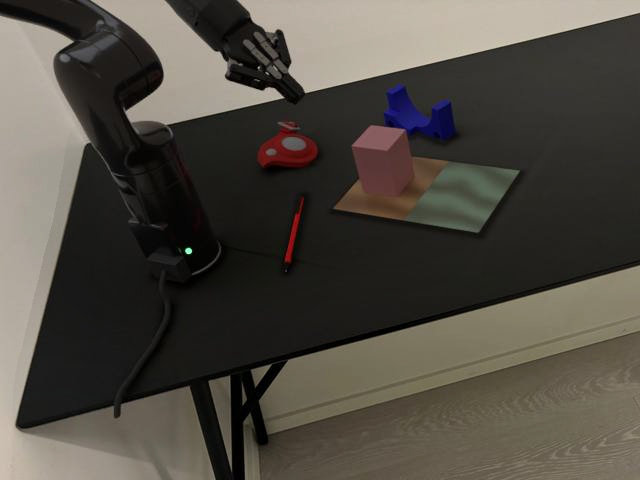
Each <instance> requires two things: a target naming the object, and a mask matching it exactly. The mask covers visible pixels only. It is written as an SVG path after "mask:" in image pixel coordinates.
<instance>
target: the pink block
mask: <svg viewBox="0 0 640 480" xmlns="http://www.w3.org/2000/svg"><path fill="white" fill-rule="evenodd" d="M351 150H352V153H353V157H354V161H355V166H356V169H357V174H358V177H359V178H360V181H361V185H362V189H363V192H366V193H373V194H379V195H386V196H392V197H398V196H399V195H400V194H401V192H402V191H403V190H404V189H405V187H406V186H407V185H408V184H409V182H410V181H411V180H412V179H413V177H414V176H415V173H414V168H413V163H412V158H411V156H412V154H411V148H410V143H409V137H408V134H407V133H406V129H398V128H394V127H391V126H390V127H388V126H380V125H372V124H371V125H369V126H368V127H367V128H366V130H364V132H363V133H362V134H361V135H360V136H359V137H358V138H357V140H356V141H355V142H354V143H353V144H352V145H351ZM359 178H358V179H359Z"/></svg>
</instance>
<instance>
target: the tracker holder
mask: <svg viewBox="0 0 640 480" xmlns="http://www.w3.org/2000/svg"><path fill="white" fill-rule="evenodd" d="M277 125H279V126H280V127H279V130H280V131H279V132H278V134H277V135H275V136H274V137H272V138H270V139H269V140H267V141H266V142H265V143H263V144H262V145H261V146H260V148H259V150H258V153H257V162H258V163H259V165H260V166H261V167H262V168H263V169H264V170H266V169H267V170H268V169H270V168H271V166H281V167H285V168H304V167H306V166H308V165H309V164H311V163H312V162H313V161H314V160H315V159H316V158H317V157H318V154H319V149H318V146H317V145H316V143H315V142H314V141H313V140H311V139H310V138H308V137H306V136H304V135H301V134H298V132H300V131H301V128H300V127H299V126H298V124H296V123H295V122H293V121H277Z"/></svg>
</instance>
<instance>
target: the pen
mask: <svg viewBox="0 0 640 480" xmlns="http://www.w3.org/2000/svg"><path fill="white" fill-rule="evenodd" d="M304 199H305V196H303V195H299V196H298V201H297V206H296V210H295V215H294V220H293V223H292V229H291V233H290V238H289V241H288V245H287V250H286V255H285V258H284V262H283V263H284V264H283V265H284V271H285V273H287V272H288V270H289V268H290V267H291V265H292V261H293V257H292V252H293V249H294V244H295V240H296V236H297V230H298V226H299V221H300V217H301V212H302V207H303V204H304Z"/></svg>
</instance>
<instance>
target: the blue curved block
mask: <svg viewBox="0 0 640 480" xmlns="http://www.w3.org/2000/svg"><path fill="white" fill-rule="evenodd" d="M386 97H387V103H388V107H389V108H388V109H386V110H385V111H384V112H383V111H382V113H383V117H384V122H385V127H390V128H391V127H392V126H393V128H398V129H406V133H407V135H409V136H412V135H414V134H415V133H417V132H419V133H421V134H424V135H426V136H429V137H432V138H434V139H435V138H438V137H439V141H441V142H444V141H445V140H447V139H448V138H450V137H451V136H453V135H454V134H456V127H455V120H454V113H453V106H452V101H449V100H446V99H443V100H441V101H440V102H438V103H437V104H435V105H434V106H432V107H431V108H430V110H431V116H430V117H427V115H424V114H423V113H421V112H420V111H419V110H418V109H417V108H416V106H415V105H414V104H413V102H412V99H410V96H409V94H408V91H407V88H406V85H402V84H399V83H398V84H397V85H395V86H393V87H392V88H390V89H388V90H387V91H386Z"/></svg>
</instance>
